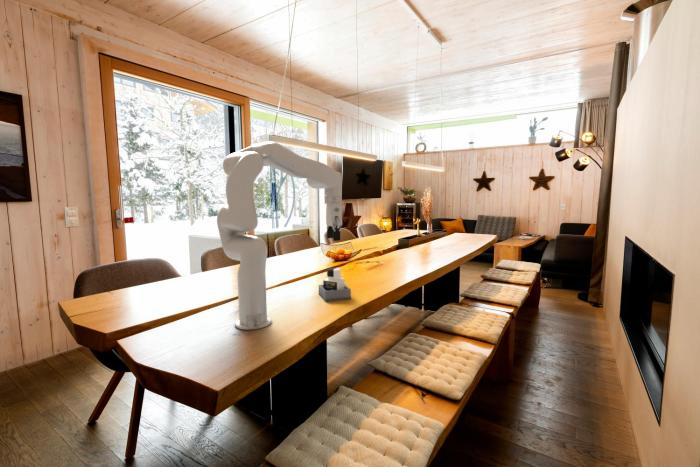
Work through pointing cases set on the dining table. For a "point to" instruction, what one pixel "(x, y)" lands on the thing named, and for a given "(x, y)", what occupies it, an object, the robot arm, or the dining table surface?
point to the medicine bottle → (334, 280)
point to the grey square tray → (335, 294)
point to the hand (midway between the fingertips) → (333, 239)
